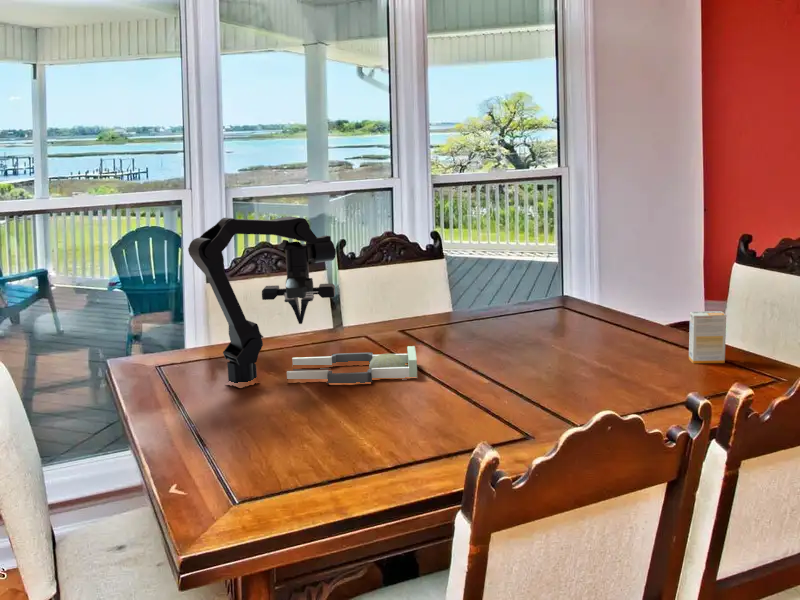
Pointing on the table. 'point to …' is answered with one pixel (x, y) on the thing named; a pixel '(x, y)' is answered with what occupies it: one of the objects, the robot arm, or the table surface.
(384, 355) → the sea urchin shell
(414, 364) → the end block
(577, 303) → the table surface
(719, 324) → the supplement box
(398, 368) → the trap lane
